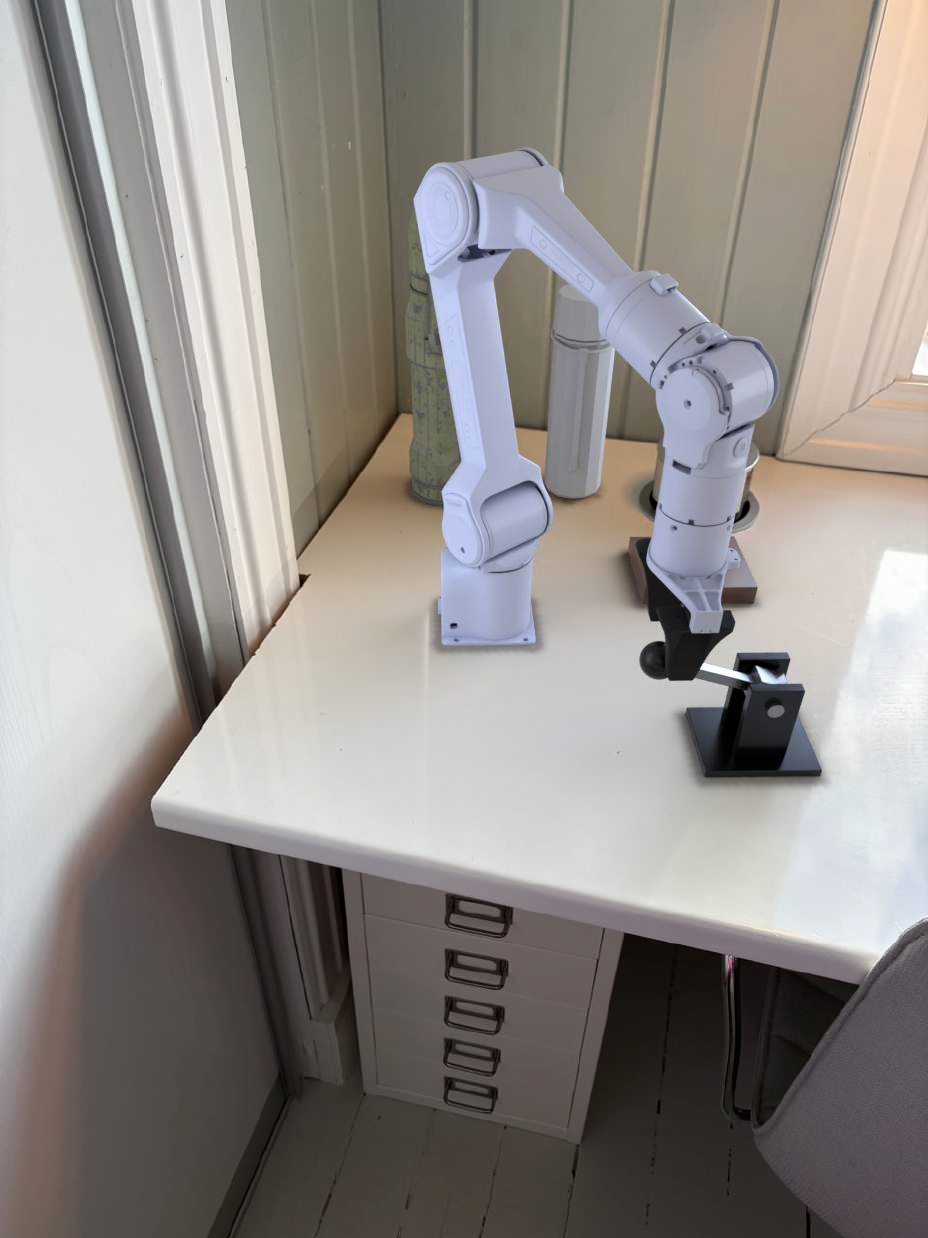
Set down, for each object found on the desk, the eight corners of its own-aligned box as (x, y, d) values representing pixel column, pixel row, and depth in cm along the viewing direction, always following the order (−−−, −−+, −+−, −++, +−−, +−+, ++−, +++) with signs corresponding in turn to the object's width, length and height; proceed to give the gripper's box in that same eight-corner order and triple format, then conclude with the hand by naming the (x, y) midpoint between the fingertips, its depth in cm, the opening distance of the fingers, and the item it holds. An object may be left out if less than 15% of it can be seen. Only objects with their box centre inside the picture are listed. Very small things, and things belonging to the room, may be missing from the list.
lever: (636, 682, 76) (653, 654, 74) (630, 657, 78) (646, 629, 76) (776, 717, 78) (795, 690, 77) (765, 691, 81) (784, 665, 79)
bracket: (704, 779, 79) (722, 704, 74) (684, 715, 86) (700, 641, 80) (819, 778, 80) (846, 703, 74) (792, 714, 86) (814, 640, 81)
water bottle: (542, 471, 122) (555, 279, 107) (602, 476, 121) (624, 282, 106) (537, 507, 115) (550, 306, 99) (601, 512, 114) (624, 310, 99)
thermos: (481, 466, 123) (486, 182, 102) (478, 513, 114) (484, 210, 92) (414, 464, 123) (406, 180, 102) (406, 511, 114) (395, 209, 92)
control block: (642, 604, 99) (647, 574, 97) (627, 552, 107) (631, 523, 105) (753, 603, 99) (761, 573, 97) (730, 552, 107) (737, 522, 105)
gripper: (778, 560, 63) (741, 706, 72) (725, 459, 75) (698, 595, 83) (676, 561, 63) (650, 707, 71) (638, 459, 74) (619, 596, 83)
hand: (670, 647), depth 77 cm, fingers open, 7 cm apart
